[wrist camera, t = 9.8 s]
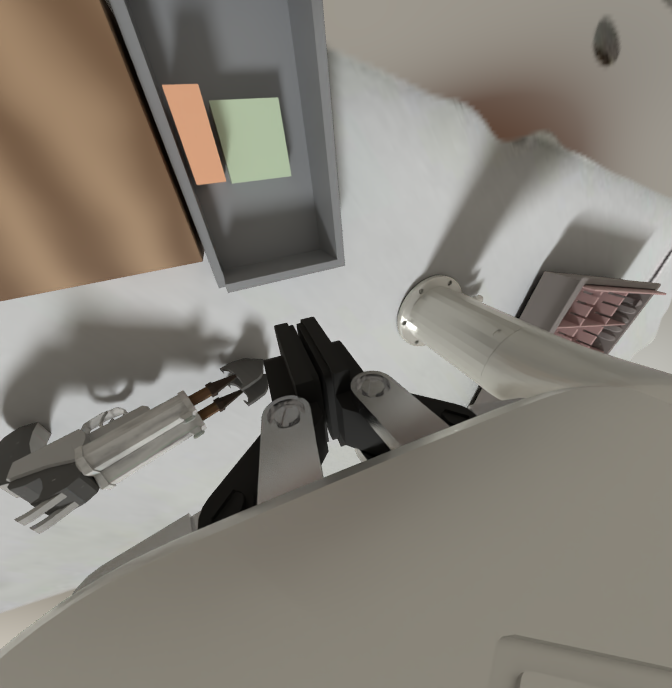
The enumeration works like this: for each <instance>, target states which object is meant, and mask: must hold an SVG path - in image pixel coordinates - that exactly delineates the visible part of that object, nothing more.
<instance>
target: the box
mask: <svg viewBox="0 0 672 688" xmlns="http://www.w3.org/2000/svg"><path fill="white" fill-rule="evenodd" d="M109 2H110V4H111V7H112V10H113V12H114V15H115V17H116V20H117V23H118V25H119V28H120V30H121V33H122V36H123V38H124V41H125V44H126V46H127V49H128V51H129V54H130V57H131V59H132V62H133V64H134V67H135V70H136V72H137V75H138V78H139V80H140V83H141V85H142V88H143V91H144V93H145V96H146V98H147V101H148V104H149V106H150V109H151V112H152V114H153V117H154V119H155V122H156V125H157V127H158V130H159V132H160V135H161V138H162V140H163V143H164V146H165V148H166V151H167V153H168V156H169V159H170V161H171V164H172V166H173V169H174V172H175V174H176V177H177V180H178V182H179V185H180V187H181V190H182V193H183V195H184V198H185V200H186V203H187V206H188V208H189V211H190V214H191V216H192V219H193V221H194V224H195V227H196V229H197V232H198V234H199V237H200V240H201V242H202V245H203V248H204V250H205V253H206V255H207V258H208V261H209V263H210V266H211V268H212V271H213V274H214V276H215V279H216V282H217V284H218V287H219V288H222V287H226V289H227V291H228V293H229V292H234V291H238V290H242V289H247V288H251V287H255V286H260V285H264V284H268V283H272V282H277V281H281V280H285V279H290V278H294V277H298V276H302V275H307V274H311V273H315V272H320V271H324V270H328V269H332V268H337V267H341V266H345V259H344V248H343V236H342V224H341V212H340V201H339V189H338V177H337V165H336V154H335V142H334V130H333V118H332V107H331V95H330V83H329V71H328V60H327V48H326V36H325V25H324V13H323V2H322V0H109ZM175 84H198V85H199V89H200V92H201V96H202V99H203V103H204V106H205V109H206V113H207V116H208V120H209V123H210V127H211V130H212V133H213V137H214V140H215V144H216V147H217V151H218V154H219V157H220V161H221V164H222V168H223V171H224V174H225V178H226V182H222V183H214V184H206V185H197V184H196V181H195V179H194V176H193V173H192V170H191V167H190V164H189V161H188V159H187V156H186V153H185V150H184V147H183V144H182V141H181V139H180V136H179V133H178V130H177V127H176V124H175V121H174V118H173V116H172V113H171V110H170V107H169V104H168V101H167V98H166V96H165V93H164V90H163V87H162V85H175ZM276 97H278V99H279V105H280V111H281V117H282V123H283V129H284V135H285V141H286V147H287V152H288V158H289V164H290V170H291V176H289V177H281V178H273V179H265V180H257V181H249V182H241V183H233V184H231V182H230V178H229V175H228V171H227V168H226V164H225V161H224V157H223V154H222V150H221V147H220V143H219V140H218V136H217V133H216V129H215V126H214V122H213V119H212V115H211V112H210V108H209V100H231V99H253V98H276Z"/></svg>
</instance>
